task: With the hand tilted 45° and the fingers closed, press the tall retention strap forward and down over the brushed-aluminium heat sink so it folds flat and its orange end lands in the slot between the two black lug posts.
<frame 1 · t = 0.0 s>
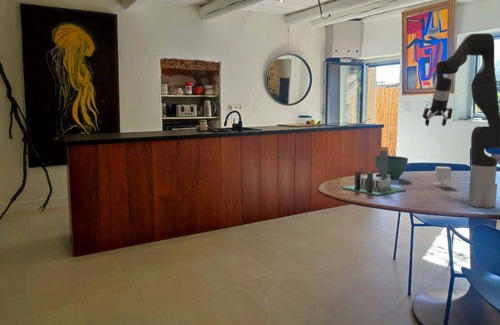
hand: (435, 125, 218), 31 cm above the table, tool tilted 20°, fingers open, 8 cm apart
plant pot: (390, 178, 232), on the table
heatsink board: (374, 189, 199), on the table
security camera: (441, 186, 209), on the table
strap: (383, 162, 201), point 14 cm above the table, hinge at 0.0°
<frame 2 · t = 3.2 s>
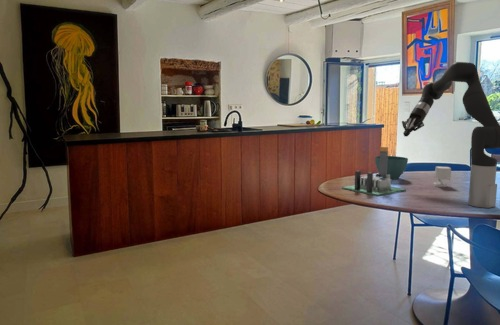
hand: (405, 135, 209), 27 cm above the table, tool tilted 45°, fingers closed
nothing on the table moved.
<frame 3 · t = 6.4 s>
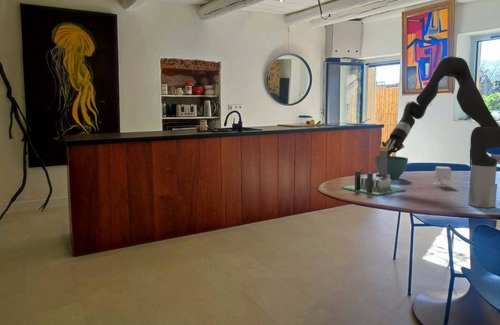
hand: (384, 157, 201), 16 cm above the table, tool tilted 45°, fingers closed
strap: (383, 162, 201), point 13 cm above the table, hinge at 1.3°, touching gripper
everything else where it was.
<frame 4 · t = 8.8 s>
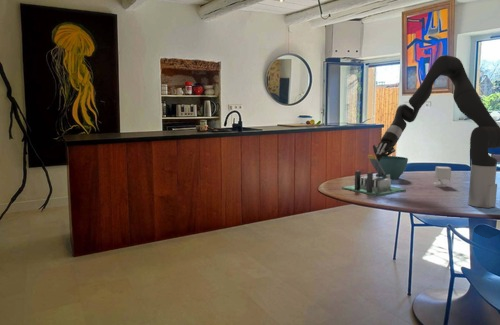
hand: (375, 161, 197), 14 cm above the table, tool tilted 45°, fingers closed
strap: (377, 166, 198), point 12 cm above the table, hinge at 41.1°, touching gripper
everything else where it was.
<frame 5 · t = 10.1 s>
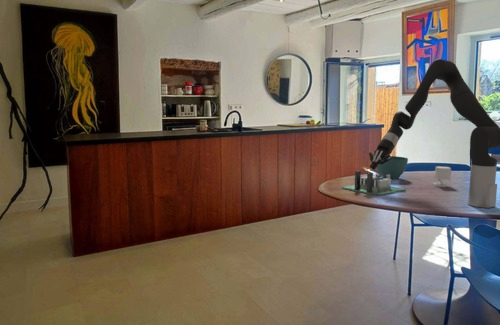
hand: (371, 168, 196), 11 cm above the table, tool tilted 45°, fingers closed
strap: (374, 172, 198), point 9 cm above the table, hinge at 68.4°, touching gripper
everything else where it was.
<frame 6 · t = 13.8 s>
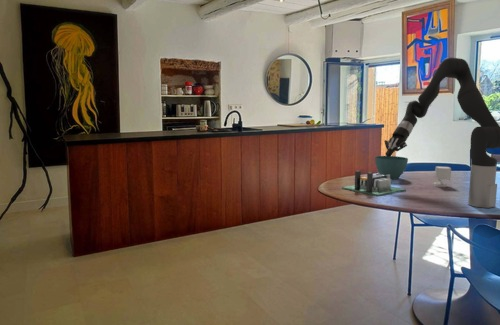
hand: (387, 155, 202), 17 cm above the table, tool tilted 45°, fingers closed
strap: (373, 177, 198), point 6 cm above the table, hinge at 90.0°, touching heatsink board
everything else where it was.
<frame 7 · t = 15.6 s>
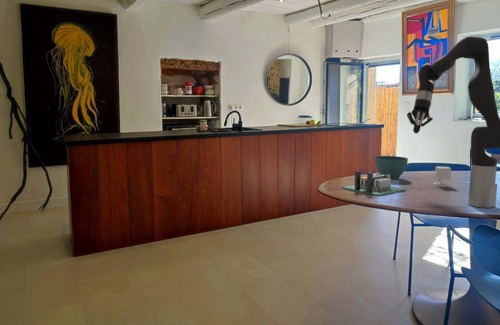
hand: (415, 132, 199), 29 cm above the table, tool tilted 25°, fingers closed
nothing on the table moved.
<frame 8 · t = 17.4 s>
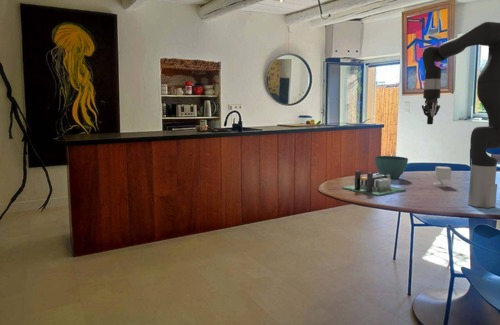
hand: (429, 124, 195), 33 cm above the table, tool pointing down, fingers closed
nothing on the table moved.
at the end: strap at +90° (first picture: +0°) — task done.
